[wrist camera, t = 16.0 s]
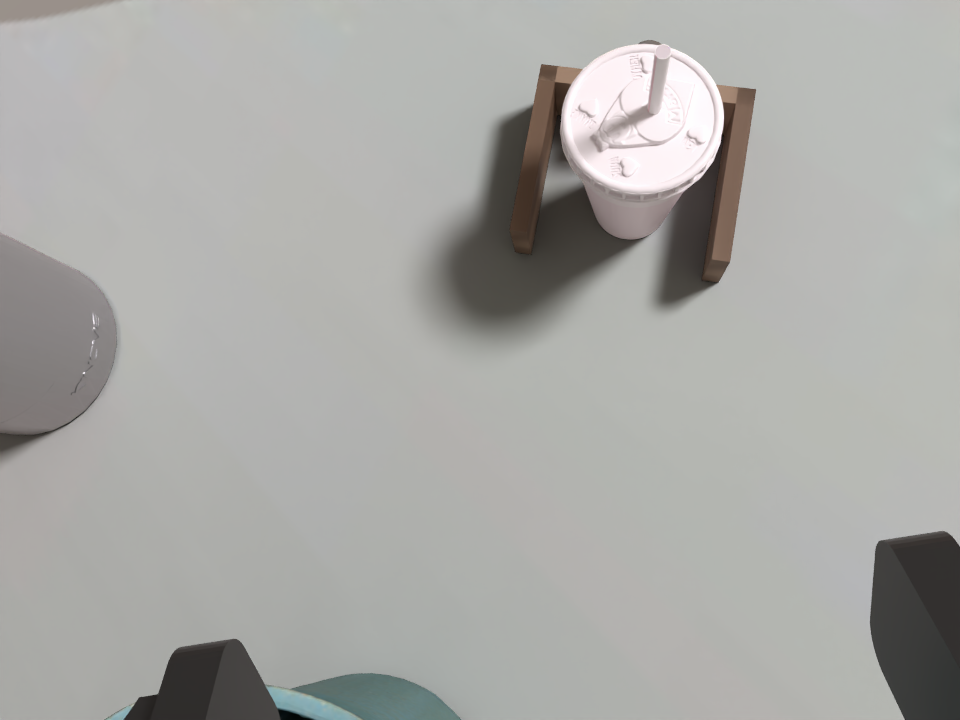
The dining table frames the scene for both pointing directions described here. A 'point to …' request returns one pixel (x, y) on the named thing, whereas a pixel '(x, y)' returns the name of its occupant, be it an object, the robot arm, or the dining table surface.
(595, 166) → the smoothie
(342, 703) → the flower pot
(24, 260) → the robot arm
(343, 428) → the dining table surface
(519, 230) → the keeper
